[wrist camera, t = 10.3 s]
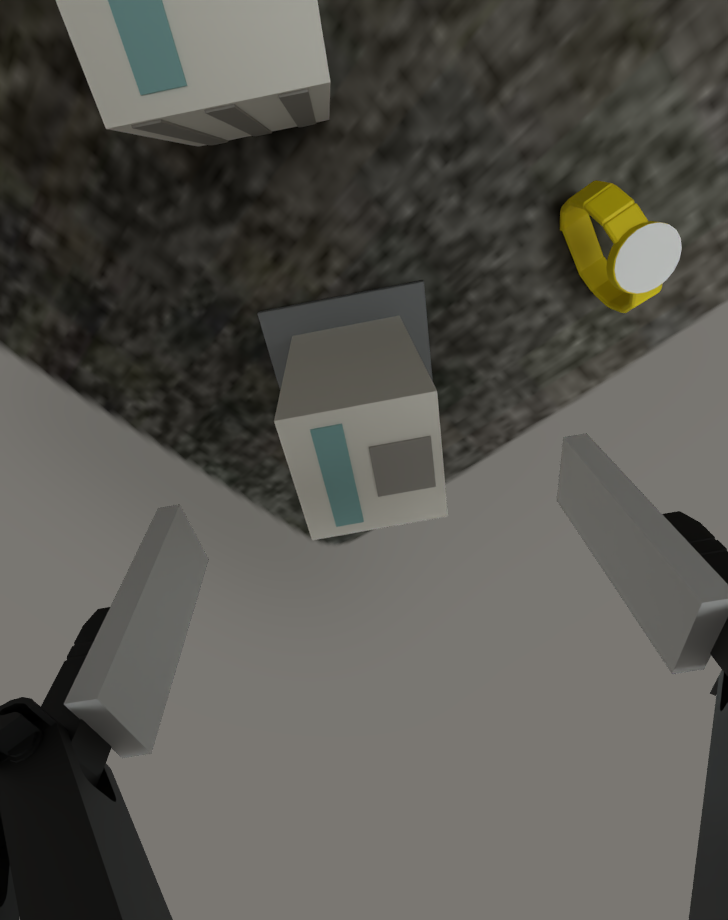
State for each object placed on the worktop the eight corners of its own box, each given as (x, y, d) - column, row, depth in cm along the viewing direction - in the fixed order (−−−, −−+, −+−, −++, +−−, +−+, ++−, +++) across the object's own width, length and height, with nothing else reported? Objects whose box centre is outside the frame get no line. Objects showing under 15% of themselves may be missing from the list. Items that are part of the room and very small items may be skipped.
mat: (258, 311, 24) (257, 313, 24) (422, 280, 24) (423, 281, 23) (299, 450, 29) (298, 453, 29) (435, 425, 29) (436, 428, 28)
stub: (292, 336, 25) (273, 422, 16) (399, 315, 24) (437, 392, 16) (316, 429, 28) (312, 541, 19) (411, 411, 28) (448, 517, 19)
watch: (533, 209, 23) (588, 210, 18) (585, 172, 22) (658, 161, 17) (578, 309, 25) (637, 335, 20) (626, 278, 24) (700, 297, 19)
